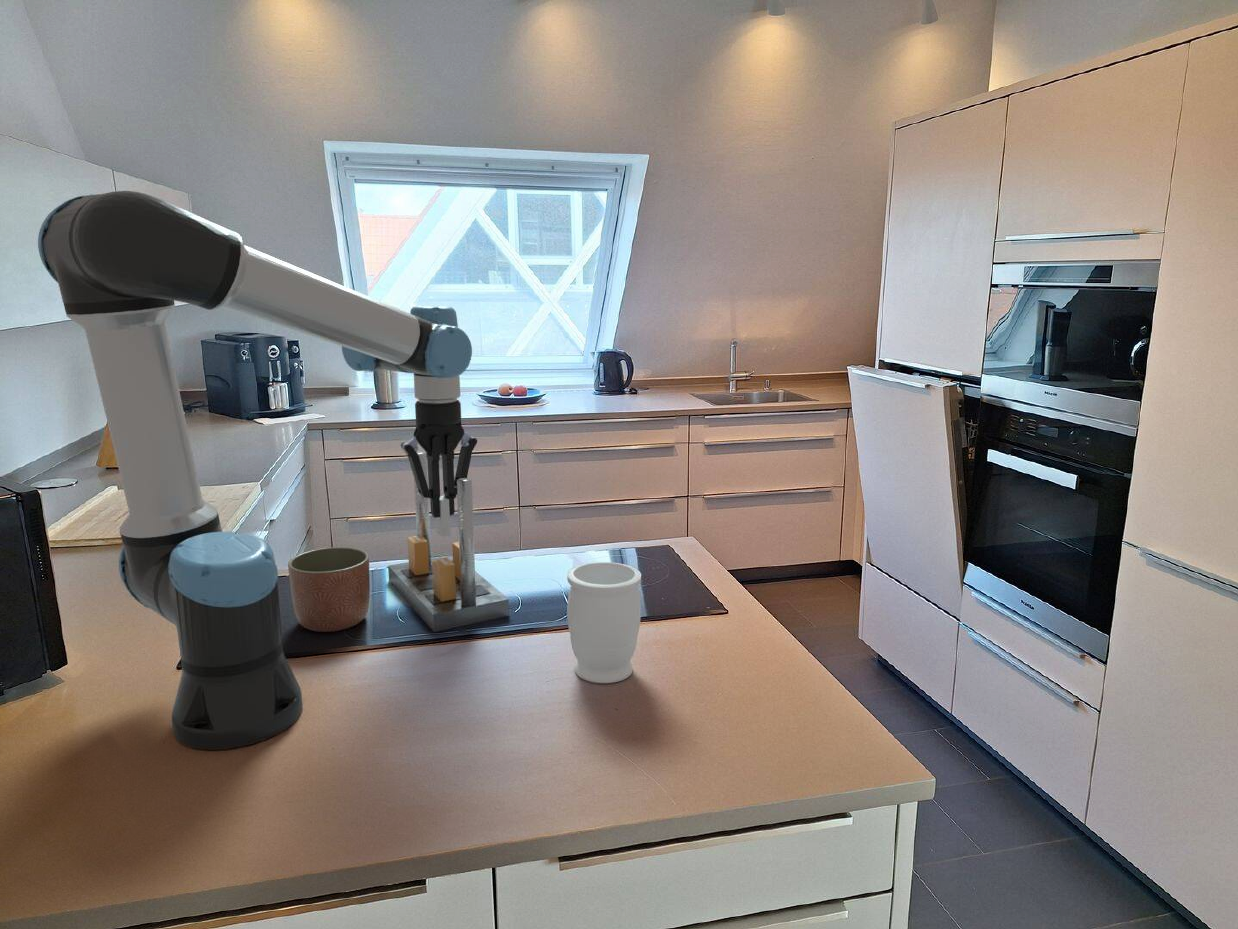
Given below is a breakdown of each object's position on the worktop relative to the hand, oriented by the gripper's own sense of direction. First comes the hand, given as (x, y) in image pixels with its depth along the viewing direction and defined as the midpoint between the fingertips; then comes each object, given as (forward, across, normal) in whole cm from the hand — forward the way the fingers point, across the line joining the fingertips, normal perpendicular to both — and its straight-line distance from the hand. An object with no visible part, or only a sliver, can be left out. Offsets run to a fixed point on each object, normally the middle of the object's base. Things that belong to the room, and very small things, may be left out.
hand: (443, 533), depth 143 cm
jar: (+12, -10, +38) cm, 41 cm away
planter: (+12, +20, +1) cm, 23 cm away
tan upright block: (+9, -3, 0) cm, 9 cm away
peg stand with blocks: (+12, 0, 0) cm, 12 cm away
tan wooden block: (+9, +3, -7) cm, 11 cm away
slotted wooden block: (+9, +3, +7) cm, 11 cm away
